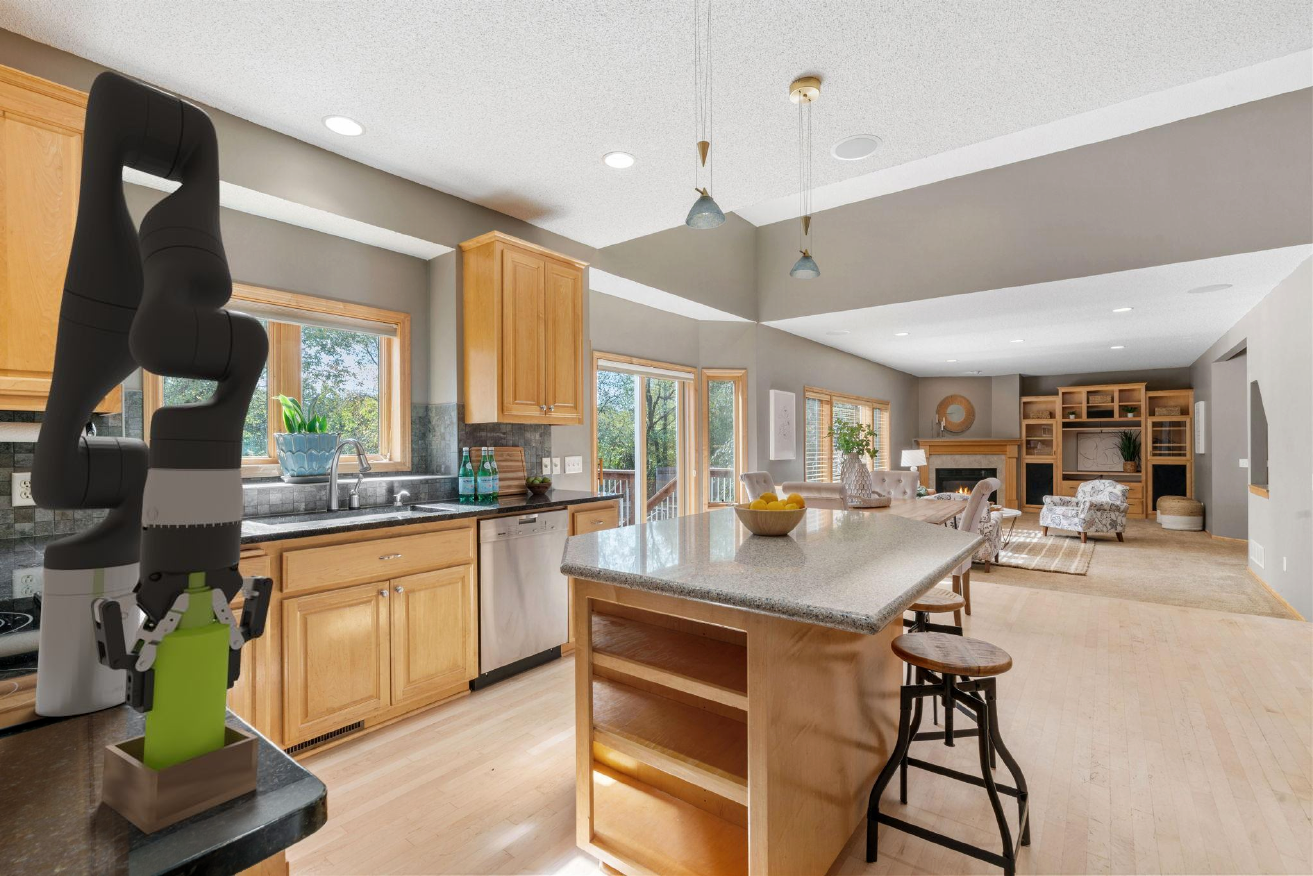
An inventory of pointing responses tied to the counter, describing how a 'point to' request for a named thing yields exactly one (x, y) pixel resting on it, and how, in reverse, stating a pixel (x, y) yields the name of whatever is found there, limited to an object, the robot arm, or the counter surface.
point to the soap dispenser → (189, 684)
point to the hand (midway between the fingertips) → (185, 697)
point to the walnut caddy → (177, 780)
